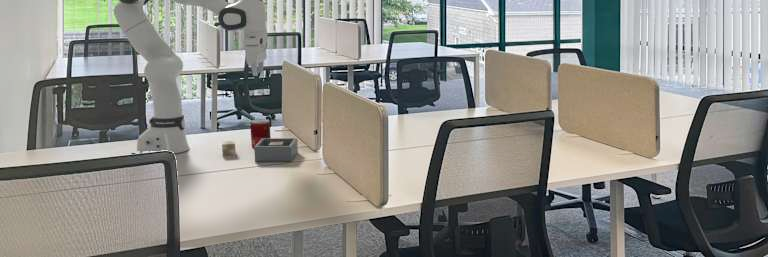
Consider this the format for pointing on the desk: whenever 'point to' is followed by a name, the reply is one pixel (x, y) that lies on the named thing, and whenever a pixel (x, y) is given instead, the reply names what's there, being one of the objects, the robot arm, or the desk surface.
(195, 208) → the desk surface
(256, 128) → the canned food
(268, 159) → the bin
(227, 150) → the oak block
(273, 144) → the walnut block
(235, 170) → the desk surface
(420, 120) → the desk surface
